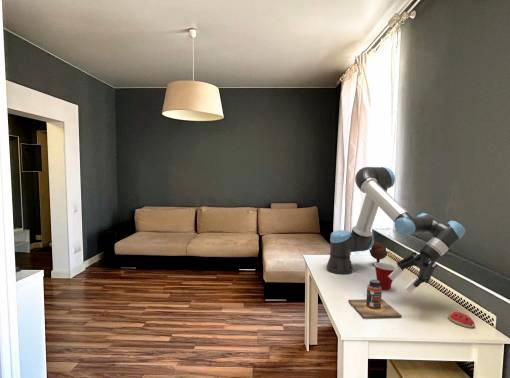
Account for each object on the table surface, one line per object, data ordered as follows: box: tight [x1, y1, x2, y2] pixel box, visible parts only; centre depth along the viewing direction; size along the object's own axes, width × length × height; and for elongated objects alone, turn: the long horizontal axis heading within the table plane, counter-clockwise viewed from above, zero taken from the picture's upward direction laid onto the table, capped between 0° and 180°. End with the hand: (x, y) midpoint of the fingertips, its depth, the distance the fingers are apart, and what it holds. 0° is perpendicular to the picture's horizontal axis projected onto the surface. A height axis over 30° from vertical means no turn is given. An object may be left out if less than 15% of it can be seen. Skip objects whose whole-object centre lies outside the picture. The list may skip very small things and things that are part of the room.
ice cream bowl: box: [368, 241, 389, 267], centre depth 194 cm, size 11×11×15 cm
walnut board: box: [347, 298, 403, 320], centre depth 132 cm, size 16×16×1 cm
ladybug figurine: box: [447, 310, 476, 329], centre depth 121 cm, size 7×10×4 cm
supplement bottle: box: [365, 279, 383, 309], centre depth 132 cm, size 6×6×11 cm
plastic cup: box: [373, 262, 398, 291], centre depth 156 cm, size 11×11×12 cm
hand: (398, 284), depth 133 cm, fingers open, 13 cm apart
